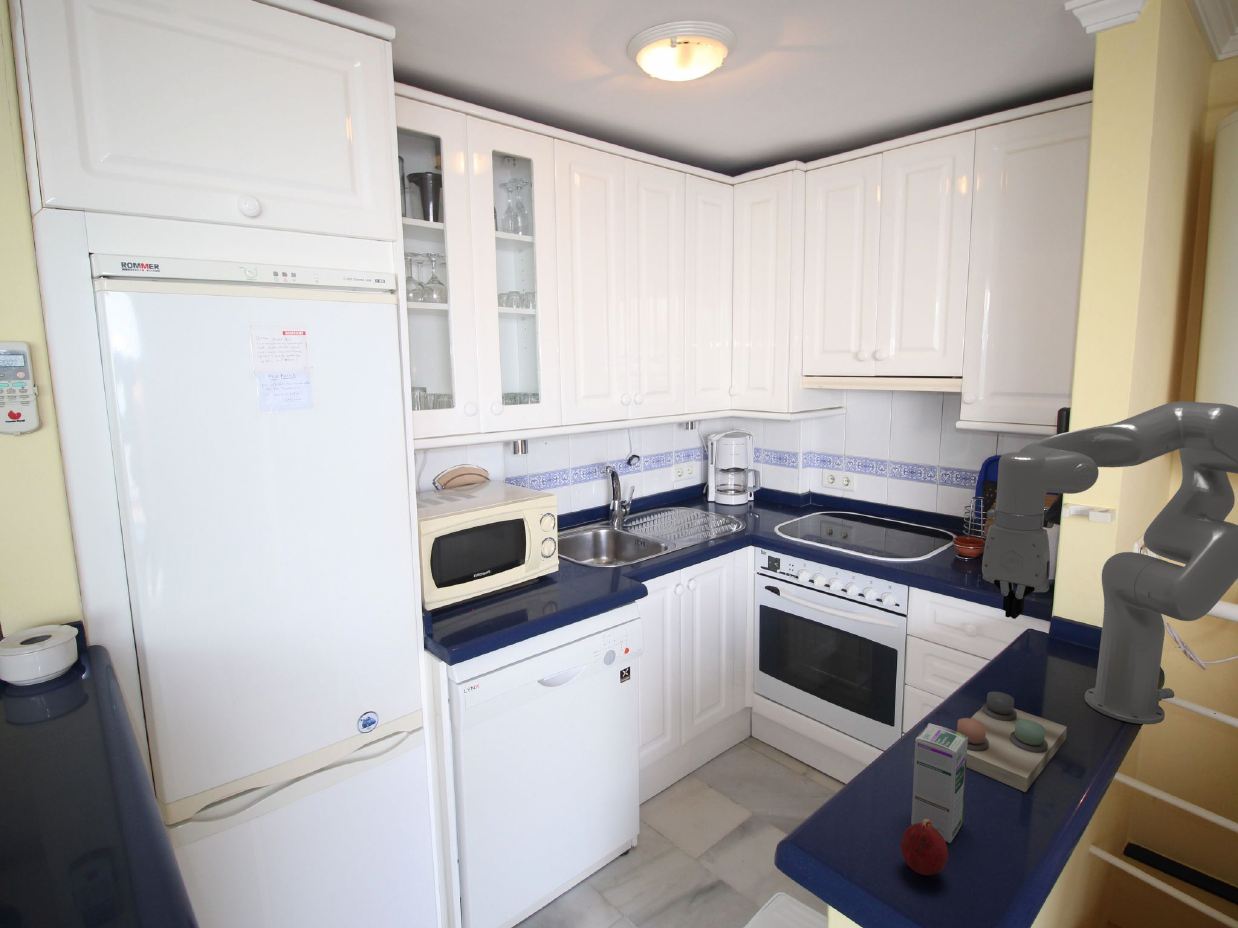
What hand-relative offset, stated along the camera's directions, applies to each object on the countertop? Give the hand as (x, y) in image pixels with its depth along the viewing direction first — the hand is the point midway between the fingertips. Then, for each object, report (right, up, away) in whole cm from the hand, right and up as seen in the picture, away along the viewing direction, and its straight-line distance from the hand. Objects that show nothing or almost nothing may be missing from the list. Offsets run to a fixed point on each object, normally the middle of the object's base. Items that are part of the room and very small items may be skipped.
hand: (1012, 615), depth 122 cm
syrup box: (-26, -26, -24) cm, 44 cm away
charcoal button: (-1, -18, +2) cm, 18 cm away
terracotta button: (-12, -20, -7) cm, 24 cm away
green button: (-2, -20, -8) cm, 21 cm away
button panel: (-4, -23, -5) cm, 24 cm away
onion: (-32, -28, -33) cm, 54 cm away
